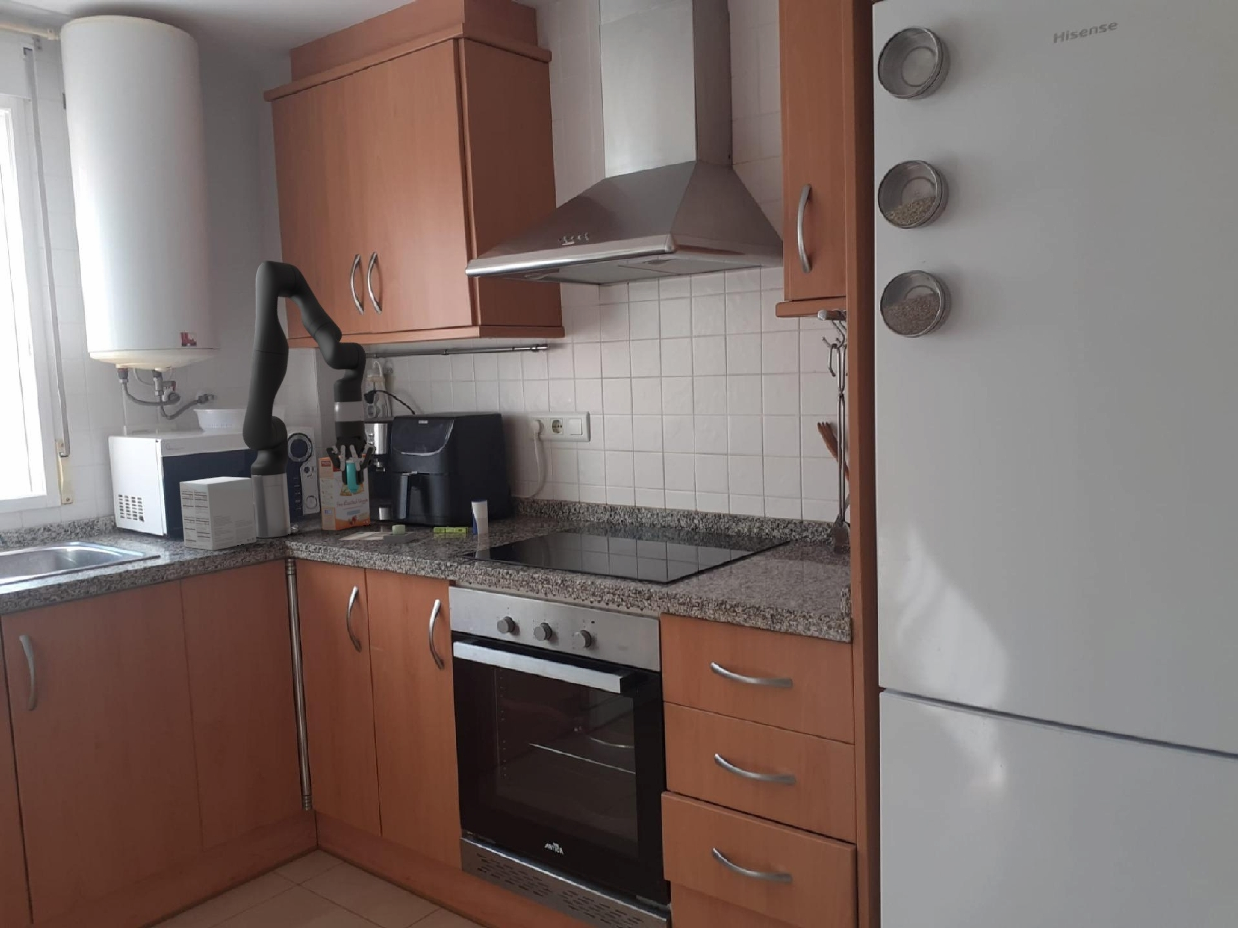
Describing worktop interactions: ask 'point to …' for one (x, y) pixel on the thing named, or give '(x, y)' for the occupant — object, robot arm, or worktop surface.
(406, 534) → the button housing
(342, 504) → the cracker box
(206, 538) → the supplement box
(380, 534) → the framed whiteboard
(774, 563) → the worktop surface
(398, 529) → the button
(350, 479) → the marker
